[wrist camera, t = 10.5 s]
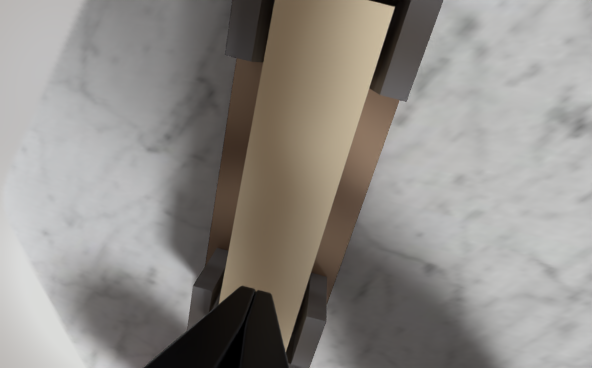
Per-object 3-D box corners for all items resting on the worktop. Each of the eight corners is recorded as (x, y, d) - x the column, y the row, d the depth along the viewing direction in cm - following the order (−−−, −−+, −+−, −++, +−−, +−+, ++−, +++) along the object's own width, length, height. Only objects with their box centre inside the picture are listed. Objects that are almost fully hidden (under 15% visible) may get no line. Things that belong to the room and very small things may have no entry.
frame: (313, 331, 22) (309, 395, 17) (203, 302, 22) (173, 358, 18) (441, -33, 13) (490, -77, 9) (263, -78, 14) (233, -141, 9)
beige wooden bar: (373, 26, 14) (394, 7, 9) (291, 300, 20) (278, 373, 15) (296, 7, 14) (278, -23, 9) (238, 286, 20) (209, 355, 15)
